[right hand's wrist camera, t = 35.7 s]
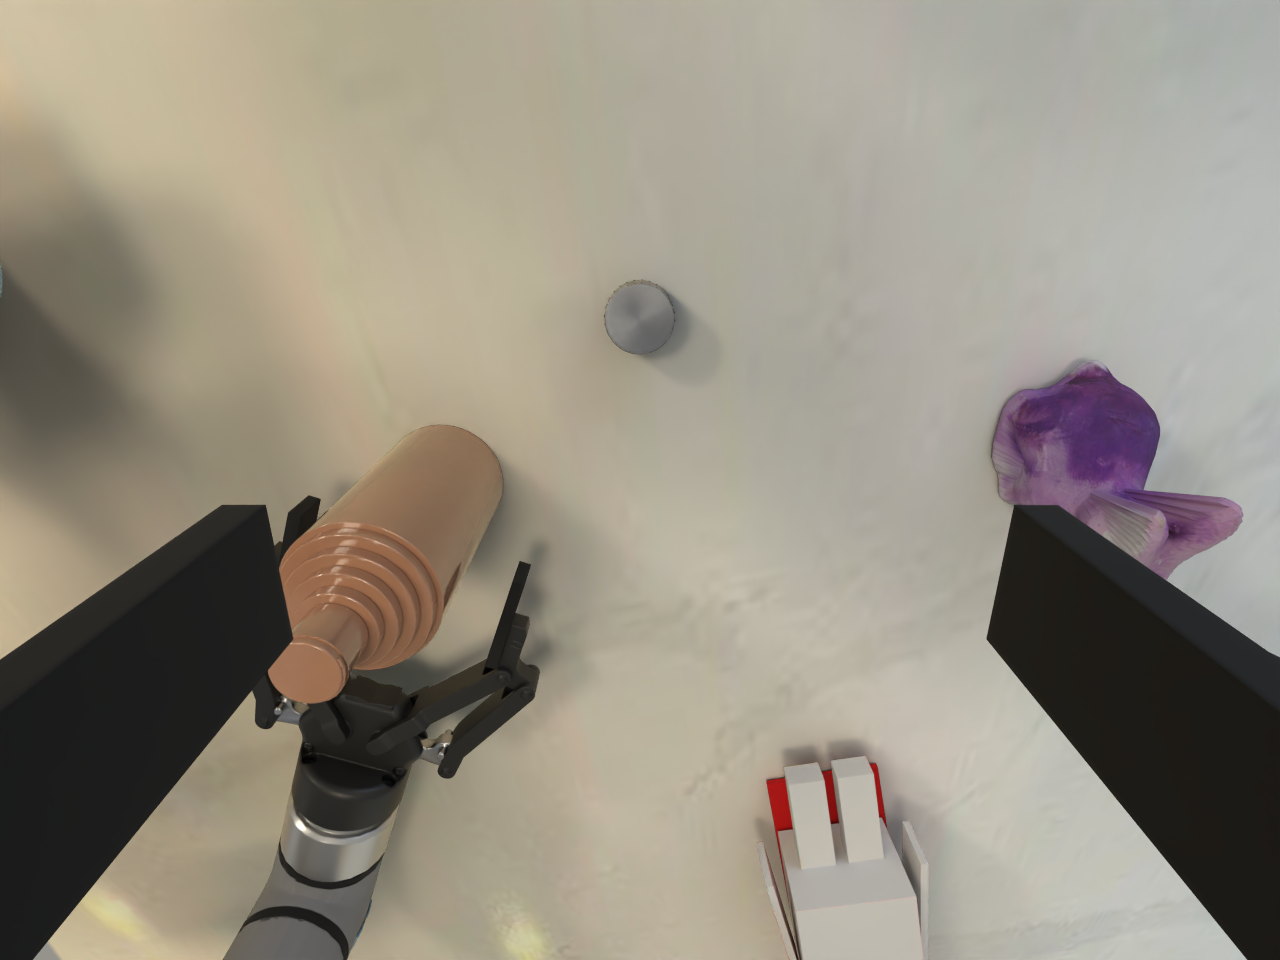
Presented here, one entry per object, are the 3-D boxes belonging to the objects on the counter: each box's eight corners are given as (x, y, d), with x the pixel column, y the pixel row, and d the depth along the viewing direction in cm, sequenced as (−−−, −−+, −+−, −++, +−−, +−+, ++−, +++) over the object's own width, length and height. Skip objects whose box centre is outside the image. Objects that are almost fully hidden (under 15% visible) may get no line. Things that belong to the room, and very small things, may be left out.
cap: (674, 346, 46) (676, 353, 43) (607, 349, 46) (606, 356, 43) (672, 277, 44) (674, 281, 42) (603, 281, 44) (601, 284, 42)
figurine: (1018, 538, 50) (1165, 663, 36) (952, 429, 47) (1084, 519, 33) (1144, 465, 48) (1350, 567, 34) (1083, 345, 45) (1281, 405, 31)
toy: (934, 810, 47) (968, 1145, 54) (875, 703, 60) (908, 983, 67) (755, 834, 48) (810, 1161, 54) (735, 723, 61) (781, 998, 67)
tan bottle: (415, 544, 51) (262, 771, 30) (368, 443, 48) (164, 617, 27) (519, 514, 50) (435, 727, 29) (478, 410, 47) (352, 564, 27)
